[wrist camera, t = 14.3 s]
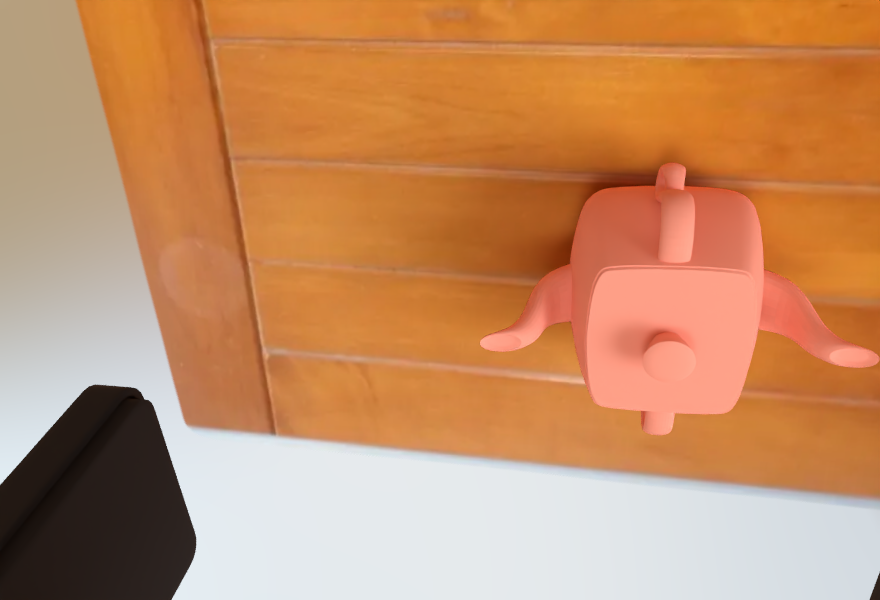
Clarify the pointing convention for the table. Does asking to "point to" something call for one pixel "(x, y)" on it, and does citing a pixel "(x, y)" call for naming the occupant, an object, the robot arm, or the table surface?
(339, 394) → the table surface
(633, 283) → the teapot
